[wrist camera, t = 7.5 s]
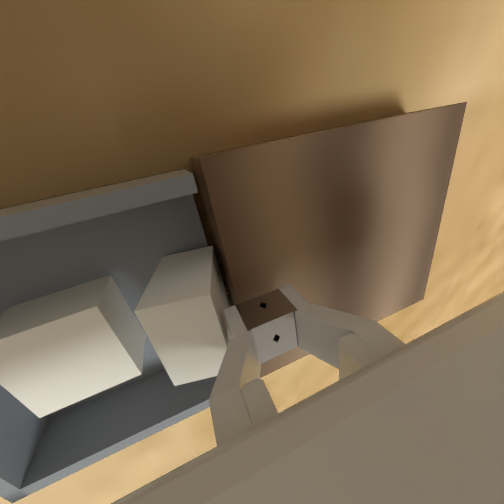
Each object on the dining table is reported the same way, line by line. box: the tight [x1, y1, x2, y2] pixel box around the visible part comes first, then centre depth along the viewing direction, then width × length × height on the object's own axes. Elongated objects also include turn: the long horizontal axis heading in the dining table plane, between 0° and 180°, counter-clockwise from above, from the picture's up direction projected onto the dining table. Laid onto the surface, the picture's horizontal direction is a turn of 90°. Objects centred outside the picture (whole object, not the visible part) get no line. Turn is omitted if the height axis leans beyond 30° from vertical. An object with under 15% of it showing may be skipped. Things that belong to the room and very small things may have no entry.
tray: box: [0, 169, 217, 503], centre depth 10 cm, size 11×11×4 cm
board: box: [191, 102, 467, 378], centre depth 13 cm, size 13×12×3 cm
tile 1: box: [0, 275, 146, 418], centre depth 10 cm, size 4×4×2 cm
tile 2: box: [134, 246, 231, 386], centre depth 10 cm, size 4×4×2 cm
